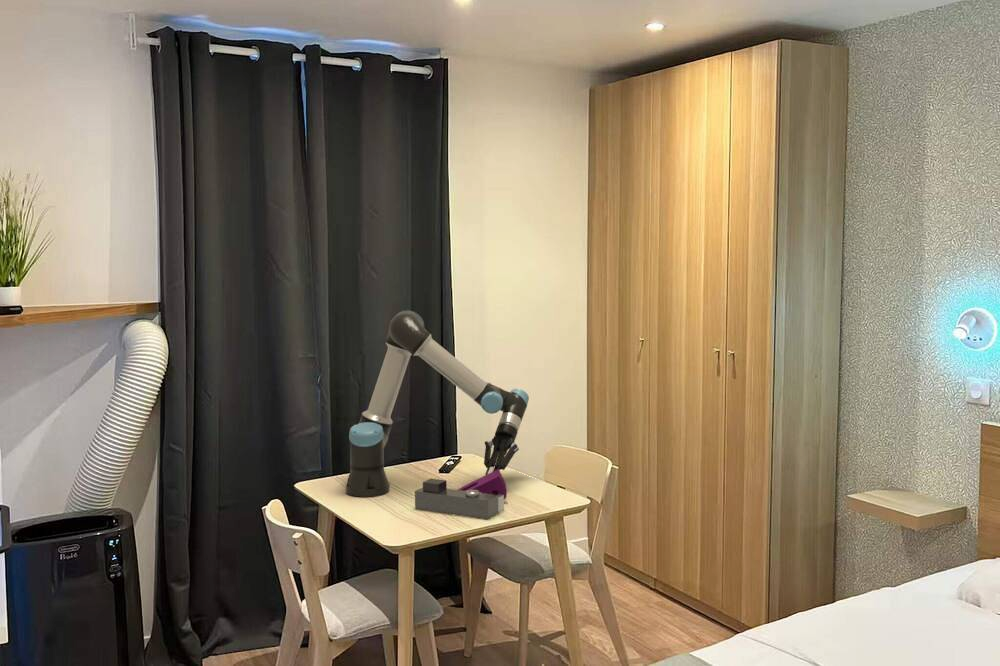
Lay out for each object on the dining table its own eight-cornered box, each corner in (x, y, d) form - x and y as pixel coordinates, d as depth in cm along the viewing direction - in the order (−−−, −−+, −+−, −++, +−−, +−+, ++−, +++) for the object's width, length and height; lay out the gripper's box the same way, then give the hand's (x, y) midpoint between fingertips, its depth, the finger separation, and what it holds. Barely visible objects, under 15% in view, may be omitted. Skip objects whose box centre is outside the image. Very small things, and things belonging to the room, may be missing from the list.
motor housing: (415, 509, 287) (414, 482, 286) (432, 500, 296) (432, 474, 295) (488, 519, 274) (488, 491, 274) (504, 510, 284) (503, 482, 283)
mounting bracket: (462, 521, 292) (510, 498, 292) (450, 499, 291) (499, 475, 291) (462, 513, 301) (509, 490, 301) (451, 491, 300) (498, 468, 300)
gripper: (527, 435, 315) (507, 492, 302) (495, 432, 321) (474, 488, 307) (521, 423, 310) (500, 481, 296) (488, 420, 315) (467, 477, 302)
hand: (487, 485), depth 302 cm, fingers closed
